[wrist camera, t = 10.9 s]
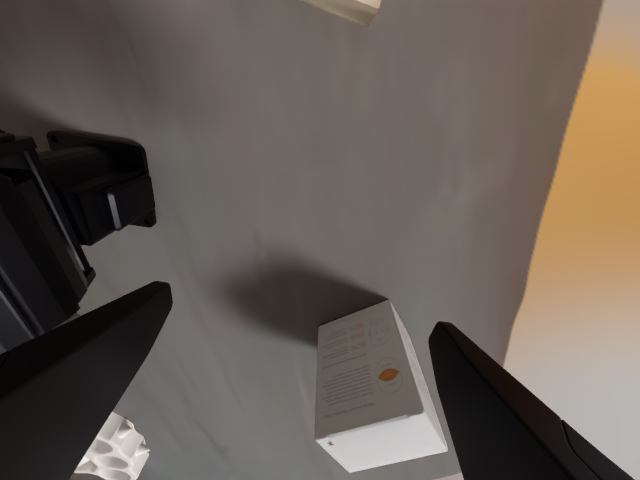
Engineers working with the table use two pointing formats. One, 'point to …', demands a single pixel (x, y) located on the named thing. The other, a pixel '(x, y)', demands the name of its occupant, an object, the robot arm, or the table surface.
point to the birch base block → (349, 8)
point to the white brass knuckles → (115, 451)
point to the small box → (372, 392)
